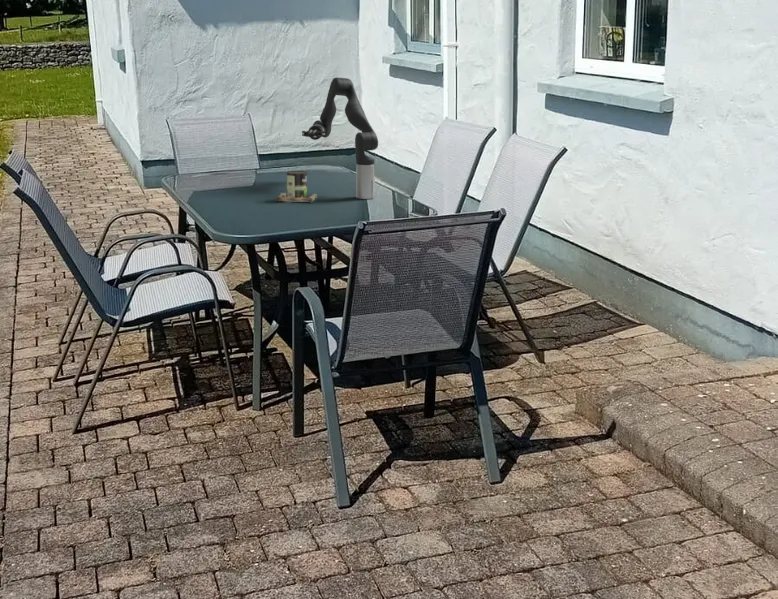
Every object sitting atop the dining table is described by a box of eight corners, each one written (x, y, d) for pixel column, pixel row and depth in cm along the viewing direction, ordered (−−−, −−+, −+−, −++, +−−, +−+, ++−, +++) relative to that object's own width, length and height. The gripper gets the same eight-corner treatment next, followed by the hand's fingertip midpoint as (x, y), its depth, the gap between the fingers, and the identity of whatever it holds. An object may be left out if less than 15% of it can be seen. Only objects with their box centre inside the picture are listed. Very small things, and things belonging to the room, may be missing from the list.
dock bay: (316, 198, 500) (316, 194, 499) (312, 203, 486) (312, 198, 486) (282, 197, 502) (282, 193, 501) (276, 202, 488) (276, 197, 488)
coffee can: (309, 198, 499) (309, 171, 495) (304, 202, 489) (303, 174, 485) (290, 198, 500) (289, 170, 497) (284, 201, 491) (283, 173, 487)
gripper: (304, 124, 525) (297, 127, 508) (328, 125, 524) (323, 128, 507) (304, 138, 527) (298, 142, 510) (328, 139, 526) (323, 142, 509)
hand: (310, 135), depth 509 cm, fingers closed
